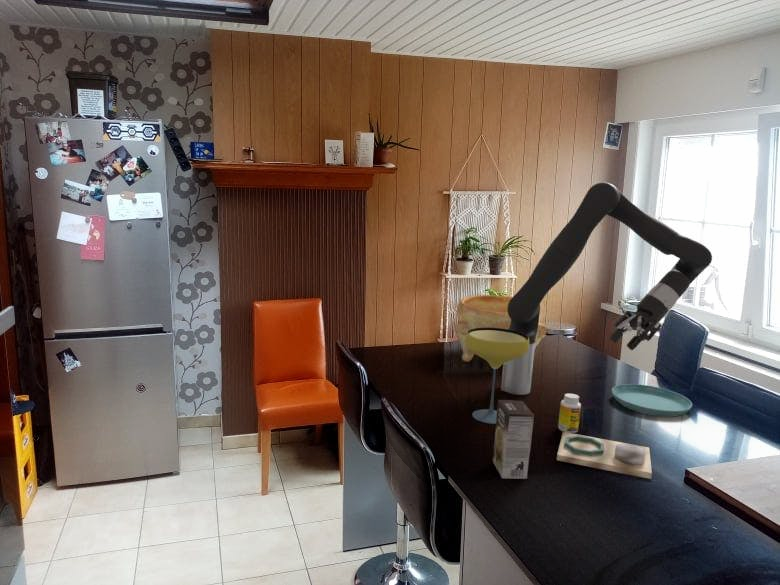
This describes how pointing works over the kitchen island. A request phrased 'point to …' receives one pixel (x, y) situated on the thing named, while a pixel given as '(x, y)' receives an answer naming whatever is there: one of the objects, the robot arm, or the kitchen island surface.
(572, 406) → the supplement bottle
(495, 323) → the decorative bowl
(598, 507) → the kitchen island surface
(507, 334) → the cocktail glass
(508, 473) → the coffee box
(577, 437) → the carrier board
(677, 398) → the saucer
